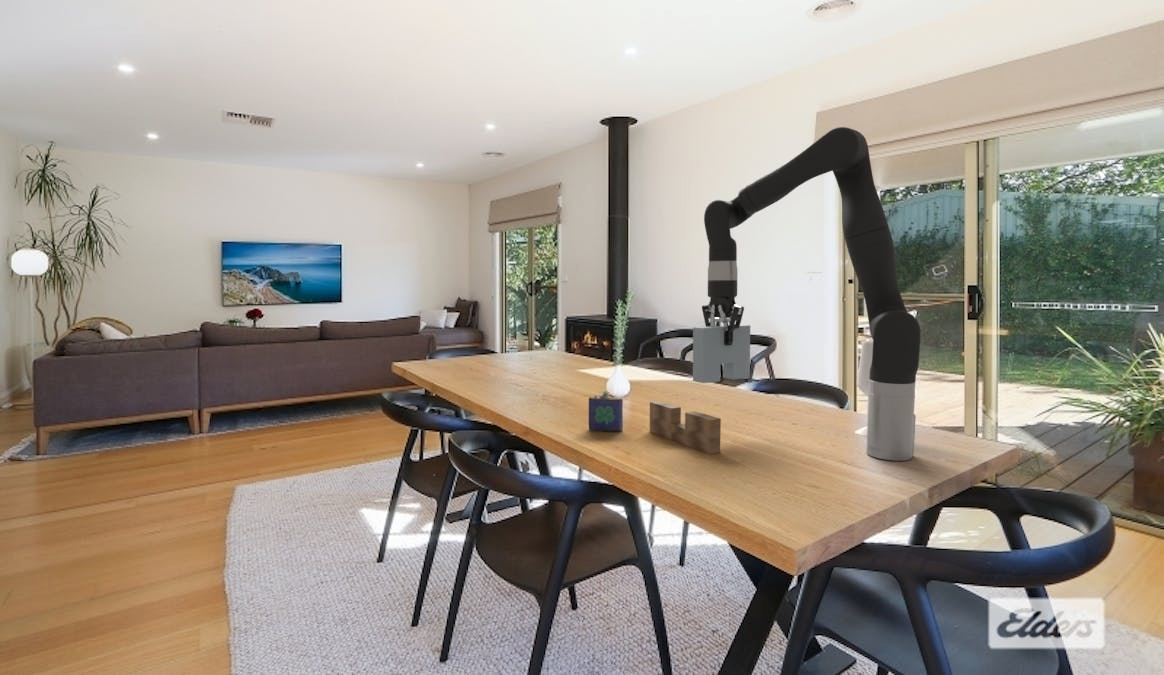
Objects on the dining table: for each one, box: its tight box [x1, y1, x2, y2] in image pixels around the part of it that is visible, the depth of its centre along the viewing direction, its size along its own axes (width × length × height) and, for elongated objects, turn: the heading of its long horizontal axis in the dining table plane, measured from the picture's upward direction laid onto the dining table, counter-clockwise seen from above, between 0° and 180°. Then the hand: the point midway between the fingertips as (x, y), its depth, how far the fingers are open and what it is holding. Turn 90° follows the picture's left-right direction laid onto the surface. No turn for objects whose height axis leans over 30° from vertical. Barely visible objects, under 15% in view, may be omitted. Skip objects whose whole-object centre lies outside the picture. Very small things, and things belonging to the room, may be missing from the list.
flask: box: [588, 391, 624, 433], centre depth 159 cm, size 9×3×11 cm, turn 80°
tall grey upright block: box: [692, 324, 751, 384], centre depth 157 cm, size 4×16×14 cm, turn 119°
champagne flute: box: [854, 340, 873, 437], centre depth 154 cm, size 7×7×24 cm
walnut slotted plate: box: [649, 400, 722, 455], centre depth 148 cm, size 24×3×8 cm, turn 29°
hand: (721, 344), depth 156 cm, fingers closed on tall grey upright block, 4 cm apart
